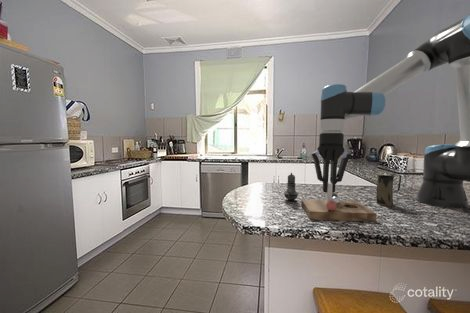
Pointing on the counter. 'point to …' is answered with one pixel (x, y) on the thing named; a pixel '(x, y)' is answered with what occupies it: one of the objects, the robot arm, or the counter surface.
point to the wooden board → (338, 211)
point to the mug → (386, 189)
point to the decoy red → (331, 205)
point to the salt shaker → (291, 190)
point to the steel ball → (336, 200)
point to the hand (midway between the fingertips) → (328, 201)
